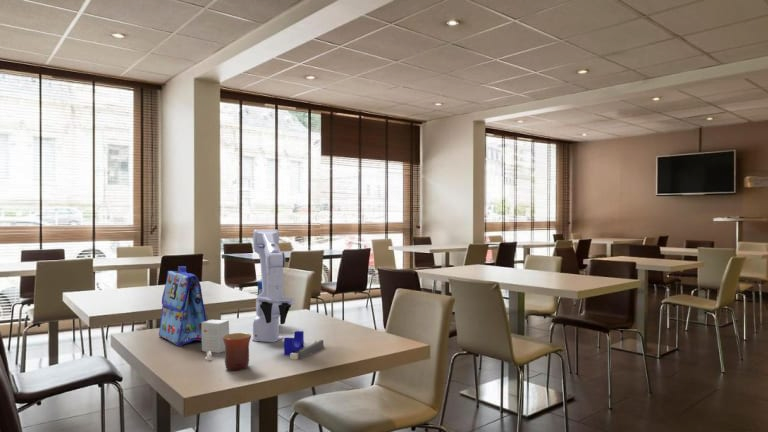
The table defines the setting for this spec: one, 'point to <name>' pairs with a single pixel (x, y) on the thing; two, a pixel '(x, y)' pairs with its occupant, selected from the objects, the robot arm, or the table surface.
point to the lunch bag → (182, 308)
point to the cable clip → (294, 343)
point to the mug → (236, 351)
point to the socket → (307, 350)
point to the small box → (214, 335)
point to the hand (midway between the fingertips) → (275, 323)
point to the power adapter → (209, 356)
